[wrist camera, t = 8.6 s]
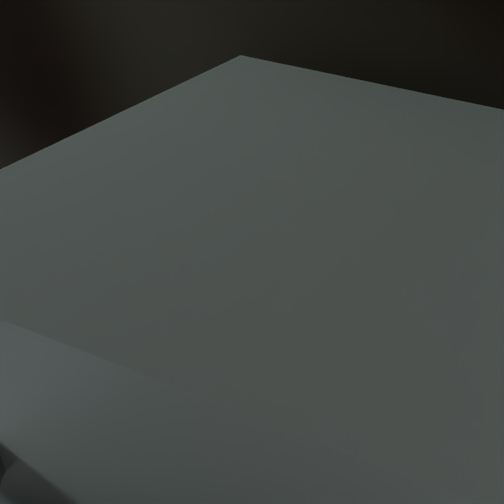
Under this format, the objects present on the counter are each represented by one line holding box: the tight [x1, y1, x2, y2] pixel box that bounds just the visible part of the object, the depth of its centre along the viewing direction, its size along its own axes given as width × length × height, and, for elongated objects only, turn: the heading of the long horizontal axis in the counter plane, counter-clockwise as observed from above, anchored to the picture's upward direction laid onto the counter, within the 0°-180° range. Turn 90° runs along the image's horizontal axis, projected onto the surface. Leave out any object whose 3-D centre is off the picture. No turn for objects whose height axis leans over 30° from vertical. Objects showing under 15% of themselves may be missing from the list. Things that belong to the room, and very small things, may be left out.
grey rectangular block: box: [0, 55, 504, 504], centre depth 8 cm, size 7×7×9 cm
